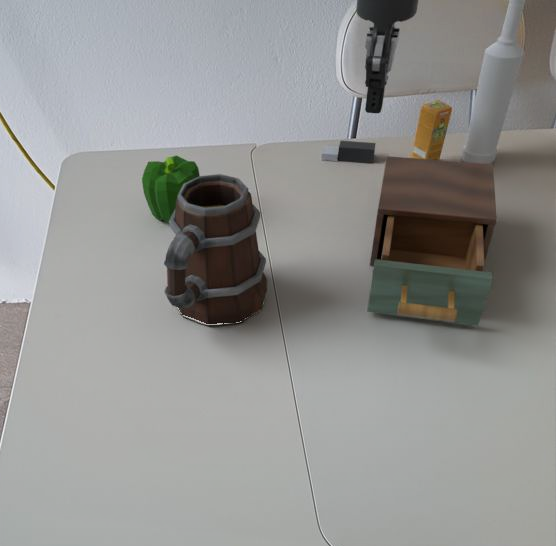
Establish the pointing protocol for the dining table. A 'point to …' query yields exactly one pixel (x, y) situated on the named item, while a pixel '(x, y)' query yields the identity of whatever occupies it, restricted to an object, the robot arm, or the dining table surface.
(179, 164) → the bell pepper
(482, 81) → the bottle
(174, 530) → the dining table surface
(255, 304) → the mug
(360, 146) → the usb flash drive
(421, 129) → the supplement box
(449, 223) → the drawer
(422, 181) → the cabinet
